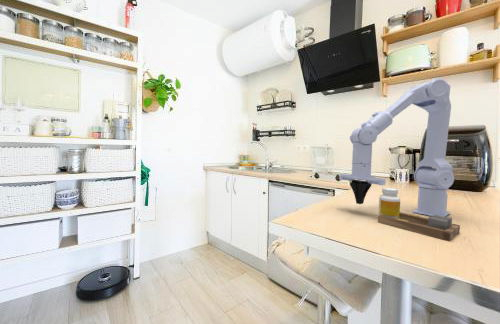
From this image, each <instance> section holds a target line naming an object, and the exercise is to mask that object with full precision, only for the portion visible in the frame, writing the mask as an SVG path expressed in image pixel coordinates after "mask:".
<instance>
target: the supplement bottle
mask: <svg viewBox="0 0 500 324" xmlns="http://www.w3.org/2000/svg"><path fill="white" fill-rule="evenodd" d="M381 193H382V194H381V195H379V200H378V214H377V215H378V216H379V215H383V216H387V217H392V218H396V219H399V216H400V213H401V198H400V197H399V195H398V194H399V189H397V188H392V187H382V189H381ZM378 216H377V217H378Z"/></svg>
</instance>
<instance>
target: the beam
mask: <svg viewBox="0 0 500 324" xmlns="http://www.w3.org/2000/svg"><path fill="white" fill-rule="evenodd" d="M378 215H379V214H378ZM452 221H453V218H452V217H449V216H445V217H444V216H439V215H433V216H429V217H428V218H427V217H423V216H420V215H417V214H413V213H405V212H400V216H399V219H396V218H392V217H387V216H383V215H379V216H377V223H379V224H383V225H387V226H390V227H393V228H394V227H395V228H397V229H403V230H406V231H409V232H410V231H411V232H413V233H417V234H422V235H425V236H428V237H432V238H437V239H440V240H444V241H448V242H450V241H452V240H453V239H454V238H455V237H456V236H458V234H460V229H461V225H460V224H455V223H453V222H452Z"/></svg>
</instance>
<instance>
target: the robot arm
mask: <svg viewBox="0 0 500 324" xmlns="http://www.w3.org/2000/svg"><path fill="white" fill-rule="evenodd" d="M450 93H451V85H450V84H449V83H448V82H447V81H446V80H445V79H443V78H441V77H440V78H439V77H437V78H433V79H431V80H430V81H427V82H424V83H421V84H418V85H415V86H412V87H411V88H409V89H408V90H406V91H405V92H404V93H403V94H402V95H401V96H400V97H399V98H397V100H396V101H395V102H393V103H392V104H391V105H390V106H389V107H388V108H386V109H385V110H384V111H378V112H377V111H376V112H373V113H372V114H371V118H369V119H368V120H367V121H365V122H362V123H361V124H360V125H361V126H360V127H359V128H355V129H354V130H353V131H352V132H351V135H350V136H349V140H350V142H351V143H352V157H351V159H352V160H351V162H352V163H351V174H346V173H344V174H343V173H341V174H339V177H338V178H339V179H338V180H339V181H350V182H349V186H350V187H351V189H352V192H353V195H354V200H355V203H356V204H358V205H363V204H364V202H365V198H366V196H367V193H368V191H369V190H370V189H371V187H372V185H377V186H378V185H379V186H386V182H387V181H386V178H381V177H376V176H375V177H374V176H372V157H373V156H372V155H373V143H375V142H376V140H377V137H378V136H380V134H381V133H383V132H384V131H385V130H387V128H389V127H390V126H391V125H392V124H393V122H394V121H393V119H394V118H396V116H398V115H399V114H400V113H402V112H403V111H404V110H406V109H407V108H408V107H410V106H411V105H414V106H416V107H418V108H420V109H422V110H424V111H426V112H427V113H428V114H427V115H428V116H427V125H426V133H425V134H426V135H425V143H424V144H425V145H424V152H423V159H422V160H420V161H419V162H418V163H417V166H416V169H415V170H414V173H413V179H414V181H415V182H416V184H417V186H418V194H417V208H416V209H414V210H412V213H415V214H420V215H426V216H429V217H431V216H433V215H439V216H444V217H448V215H450V214H451V212H450V211H447V209H448V208H447V207H448V193H447V190H449V188H450V187H451V186H453V184H454V182H455V175H454V173H453V165H452V164H450V162H448V161H447V160H446V156H447V155H446V154H447V147H448V146H447V144H448V137H449V136H448V135H449V130H450V129H449V127H450V119H451V111H452V103H451V99H450Z"/></svg>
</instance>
